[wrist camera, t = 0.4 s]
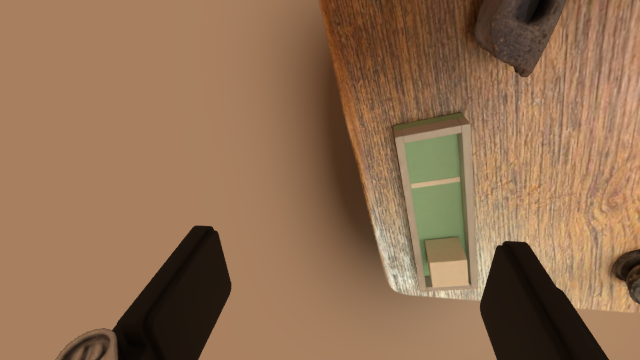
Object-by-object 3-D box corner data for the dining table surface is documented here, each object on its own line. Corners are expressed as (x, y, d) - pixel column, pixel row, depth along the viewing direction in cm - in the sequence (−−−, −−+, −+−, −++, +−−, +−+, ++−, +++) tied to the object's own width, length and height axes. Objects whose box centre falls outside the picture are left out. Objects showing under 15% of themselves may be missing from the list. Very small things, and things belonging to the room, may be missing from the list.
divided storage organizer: (393, 125, 34) (394, 137, 31) (461, 112, 33) (470, 123, 30) (417, 272, 44) (420, 292, 41) (471, 268, 42) (478, 288, 39)
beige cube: (424, 240, 39) (429, 263, 36) (458, 236, 38) (467, 259, 35) (427, 263, 41) (432, 287, 38) (460, 261, 40) (468, 285, 37)
